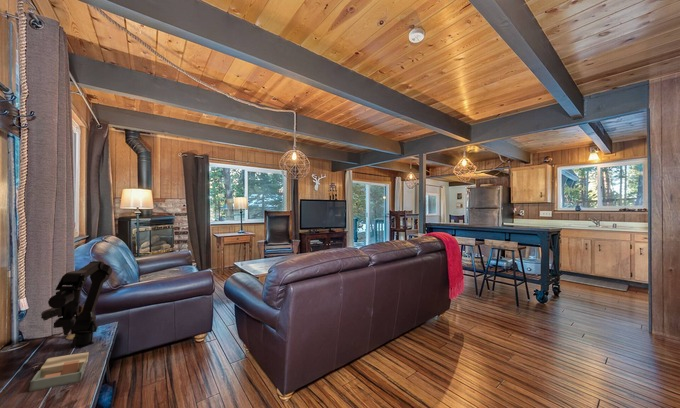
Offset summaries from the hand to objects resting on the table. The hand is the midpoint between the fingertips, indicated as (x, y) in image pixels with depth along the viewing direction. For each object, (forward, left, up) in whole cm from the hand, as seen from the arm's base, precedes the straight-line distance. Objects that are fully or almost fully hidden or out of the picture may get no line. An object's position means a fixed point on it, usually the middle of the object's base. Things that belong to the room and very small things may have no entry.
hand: (65, 335), depth 119 cm
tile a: (+4, +14, -9) cm, 17 cm away
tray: (+9, +15, -12) cm, 21 cm away
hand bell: (-17, -22, -12) cm, 30 cm away
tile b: (+11, +15, -9) cm, 20 cm away
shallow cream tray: (+3, +8, -12) cm, 15 cm away
